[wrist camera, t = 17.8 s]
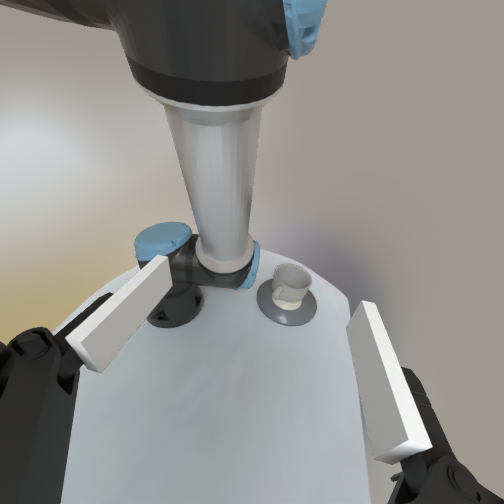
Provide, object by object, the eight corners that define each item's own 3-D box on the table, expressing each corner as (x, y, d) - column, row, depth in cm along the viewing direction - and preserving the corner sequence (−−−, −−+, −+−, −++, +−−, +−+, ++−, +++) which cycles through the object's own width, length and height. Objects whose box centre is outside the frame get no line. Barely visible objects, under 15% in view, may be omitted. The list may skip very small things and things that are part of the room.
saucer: (244, 293, 61) (245, 290, 60) (285, 273, 71) (286, 271, 70) (286, 338, 50) (287, 335, 49) (327, 307, 60) (329, 305, 59)
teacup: (286, 278, 67) (291, 259, 63) (312, 298, 61) (320, 278, 56) (255, 295, 59) (258, 274, 55) (281, 320, 53) (287, 299, 48)
